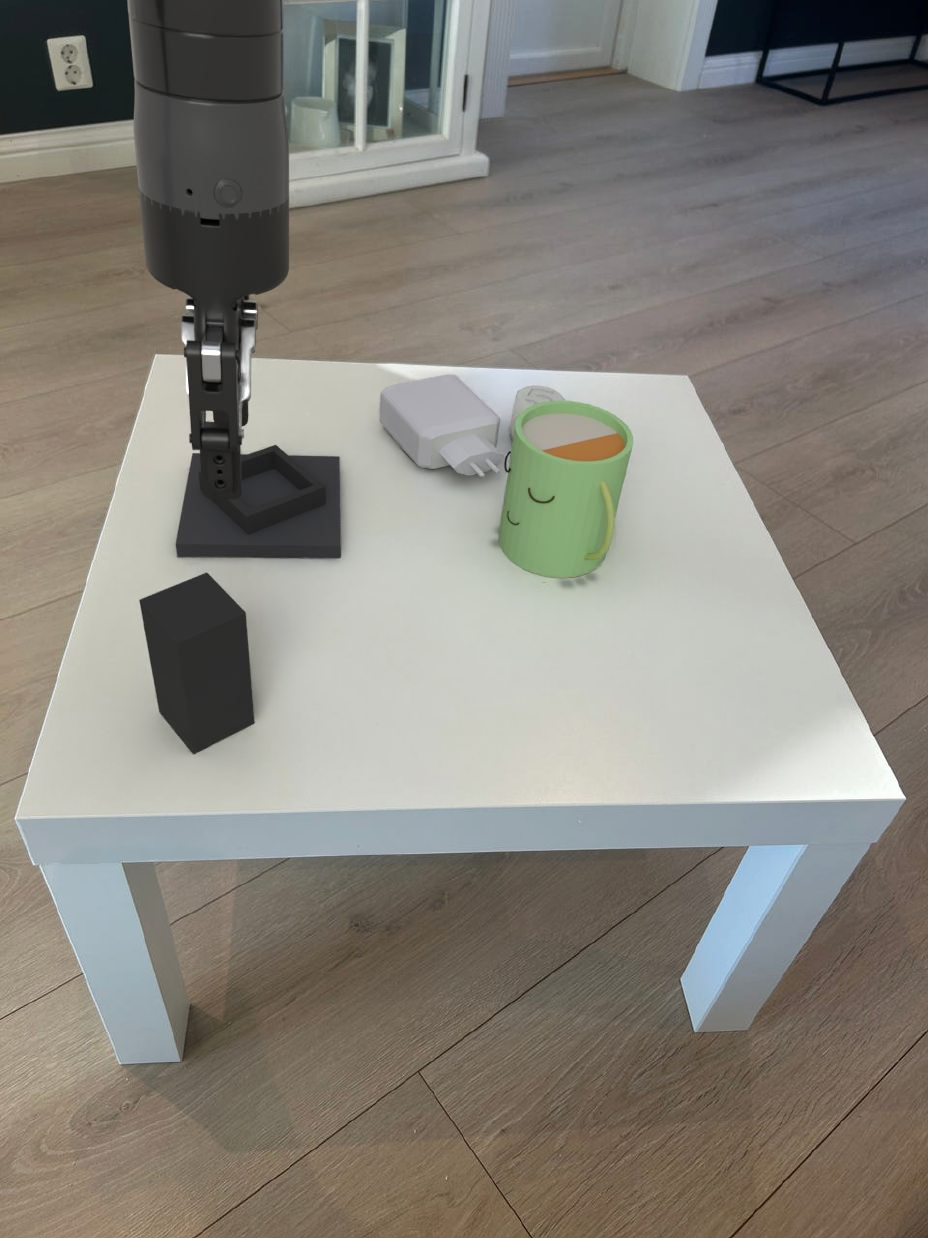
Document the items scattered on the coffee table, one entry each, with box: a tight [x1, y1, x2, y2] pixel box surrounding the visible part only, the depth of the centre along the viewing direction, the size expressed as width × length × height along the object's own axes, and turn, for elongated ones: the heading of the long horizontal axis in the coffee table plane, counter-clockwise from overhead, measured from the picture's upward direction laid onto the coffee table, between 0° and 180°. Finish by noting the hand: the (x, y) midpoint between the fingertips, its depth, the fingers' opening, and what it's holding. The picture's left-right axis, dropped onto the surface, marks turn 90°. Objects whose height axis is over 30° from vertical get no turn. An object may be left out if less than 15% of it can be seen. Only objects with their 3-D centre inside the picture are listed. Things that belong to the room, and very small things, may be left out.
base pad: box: [175, 444, 342, 559], centre depth 88 cm, size 14×14×4 cm
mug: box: [498, 400, 634, 579], centre depth 85 cm, size 13×10×12 cm
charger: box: [378, 373, 505, 478], centre depth 97 cm, size 5×9×15 cm
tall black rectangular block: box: [138, 571, 255, 755], centre depth 67 cm, size 5×5×11 cm
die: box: [508, 385, 566, 442], centre depth 101 cm, size 5×5×5 cm
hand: (227, 457), depth 60 cm, fingers open, 8 cm apart
